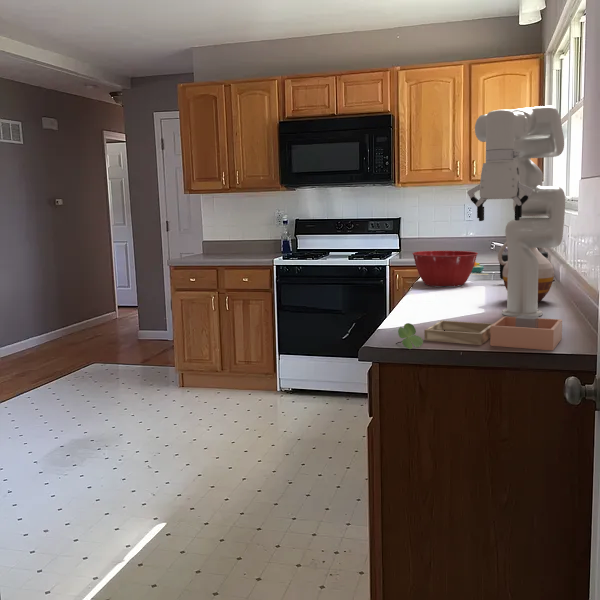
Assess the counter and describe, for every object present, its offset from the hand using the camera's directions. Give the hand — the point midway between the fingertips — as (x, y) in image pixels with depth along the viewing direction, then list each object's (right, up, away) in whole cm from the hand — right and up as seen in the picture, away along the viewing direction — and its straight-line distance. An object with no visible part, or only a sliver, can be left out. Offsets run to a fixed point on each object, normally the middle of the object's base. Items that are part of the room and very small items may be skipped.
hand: (499, 220), depth 181 cm
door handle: (+43, -16, +105) cm, 114 cm away
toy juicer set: (+31, -10, +157) cm, 160 cm away
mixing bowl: (+10, -16, +112) cm, 114 cm away
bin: (+6, -33, -5) cm, 34 cm away
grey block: (+6, -32, -5) cm, 33 cm away
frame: (-10, -32, +4) cm, 34 cm away
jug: (+28, -23, +61) cm, 71 cm away
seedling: (-29, -34, -3) cm, 45 cm away
